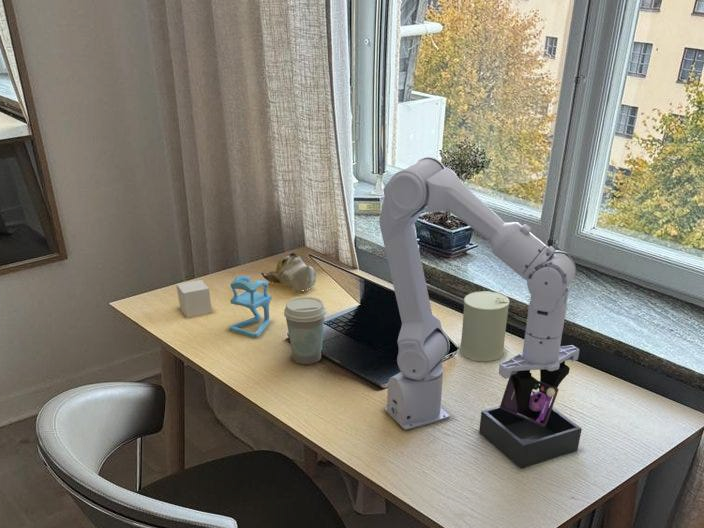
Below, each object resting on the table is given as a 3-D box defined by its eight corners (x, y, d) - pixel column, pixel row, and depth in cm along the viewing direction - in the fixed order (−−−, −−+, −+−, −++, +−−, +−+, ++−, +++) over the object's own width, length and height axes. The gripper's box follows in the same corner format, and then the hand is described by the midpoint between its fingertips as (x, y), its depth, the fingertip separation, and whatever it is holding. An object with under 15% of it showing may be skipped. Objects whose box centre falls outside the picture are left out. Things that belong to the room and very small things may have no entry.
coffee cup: (280, 363, 160) (276, 309, 153) (297, 346, 167) (294, 293, 160) (317, 370, 158) (315, 315, 151) (334, 352, 164) (332, 298, 157)
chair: (278, 324, 176) (275, 273, 168) (256, 338, 170) (251, 286, 163) (251, 317, 179) (247, 266, 172) (228, 330, 173) (223, 279, 166)
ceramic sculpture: (289, 264, 181) (256, 250, 191) (292, 300, 186) (260, 285, 196) (326, 255, 186) (292, 242, 196) (328, 290, 191) (295, 275, 201)
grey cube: (179, 308, 184) (176, 284, 180) (204, 303, 186) (201, 279, 182) (187, 317, 179) (183, 293, 176) (212, 312, 181) (209, 288, 178)
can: (502, 363, 159) (509, 308, 152) (457, 359, 161) (462, 305, 154) (504, 343, 166) (510, 290, 159) (461, 340, 168) (465, 287, 161)
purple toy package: (509, 370, 130) (555, 389, 125) (524, 370, 134) (570, 387, 129) (497, 408, 133) (542, 427, 128) (512, 406, 137) (556, 425, 132)
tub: (520, 468, 129) (523, 446, 126) (478, 432, 138) (481, 410, 135) (577, 451, 133) (582, 428, 130) (533, 417, 142) (537, 395, 139)
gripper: (521, 351, 118) (511, 426, 126) (596, 332, 123) (582, 406, 131) (494, 333, 123) (486, 406, 131) (568, 315, 128) (556, 387, 136)
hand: (532, 405), depth 131 cm, fingers closed on purple toy package, 4 cm apart
